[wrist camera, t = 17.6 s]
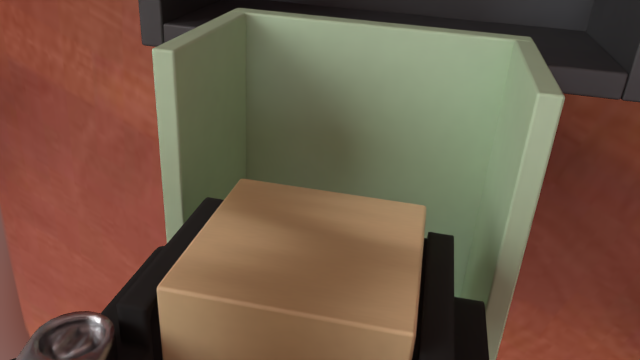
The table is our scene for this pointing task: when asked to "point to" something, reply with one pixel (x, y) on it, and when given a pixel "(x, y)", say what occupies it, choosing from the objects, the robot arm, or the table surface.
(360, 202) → the block
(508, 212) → the scoop box
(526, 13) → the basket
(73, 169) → the table surface
